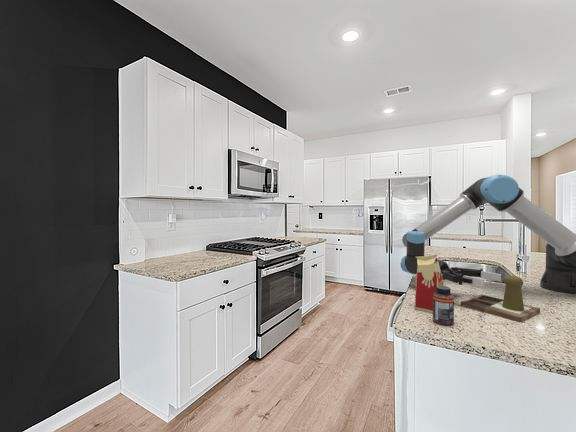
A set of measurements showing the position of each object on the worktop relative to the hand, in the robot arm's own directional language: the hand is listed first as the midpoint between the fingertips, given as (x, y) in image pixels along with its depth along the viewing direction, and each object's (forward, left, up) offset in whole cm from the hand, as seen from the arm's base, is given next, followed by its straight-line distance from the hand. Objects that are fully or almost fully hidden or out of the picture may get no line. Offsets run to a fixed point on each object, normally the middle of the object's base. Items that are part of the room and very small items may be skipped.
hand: (492, 280), depth 105 cm
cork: (0, +7, -8) cm, 11 cm away
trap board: (0, +2, -10) cm, 10 cm away
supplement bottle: (+28, -2, -10) cm, 30 cm away
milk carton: (+20, -12, -10) cm, 26 cm away
